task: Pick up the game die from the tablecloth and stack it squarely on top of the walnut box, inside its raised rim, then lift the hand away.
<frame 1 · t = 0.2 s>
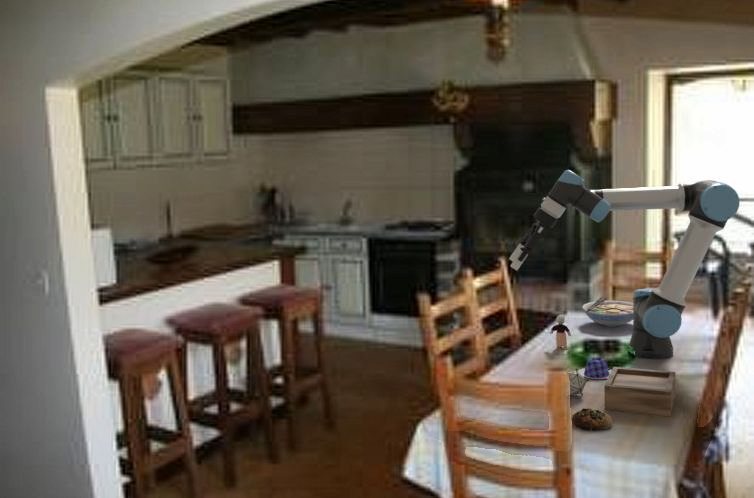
hand: (512, 264, 263), 36 cm above the table, tool tilted 35°, fingers open, 13 cm apart
ramen bowl: (611, 325, 313), on the table
grandmother figurine: (560, 348, 286), on the table
walnut box: (640, 401, 229), on the table
bread roll: (592, 425, 216), on the table
game die: (572, 396, 238), on the table
pudding: (596, 375, 256), on the table
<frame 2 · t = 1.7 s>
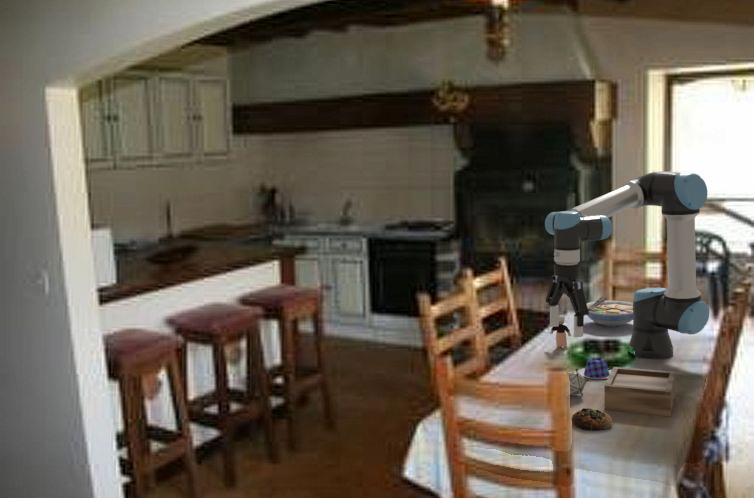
hand: (566, 331, 236), 20 cm above the table, tool pointing down, fingers open, 13 cm apart
nothing on the table moved.
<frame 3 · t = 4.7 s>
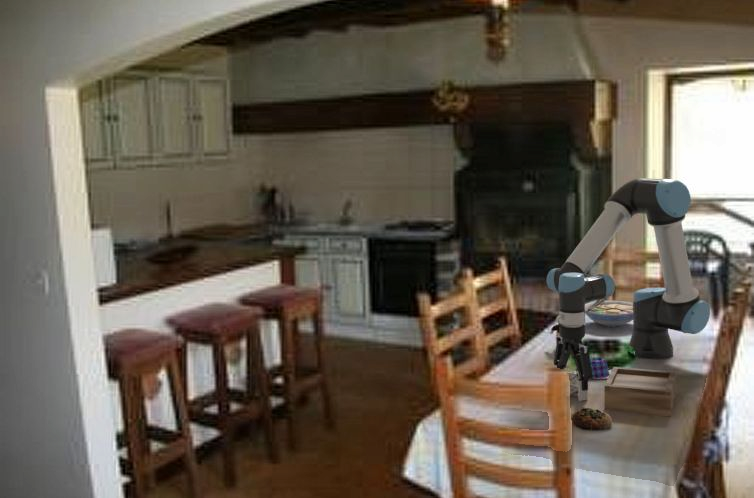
hand: (572, 394, 238), 0 cm above the table, tool pointing down, fingers closed on game die, 10 cm apart
game die: (572, 395, 238), on the table, touching gripper
everything else where it was.
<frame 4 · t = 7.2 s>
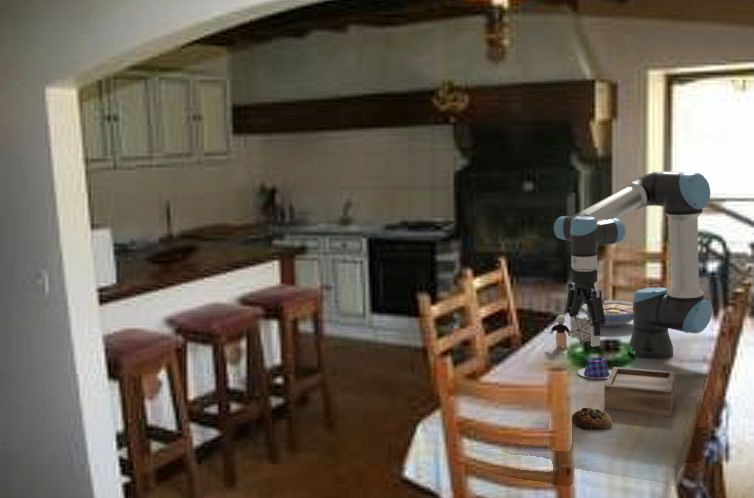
hand: (585, 341, 233), 17 cm above the table, tool pointing down, fingers closed on game die, 10 cm apart
game die: (585, 342, 233), point 17 cm above the table, touching gripper
everything else where it was.
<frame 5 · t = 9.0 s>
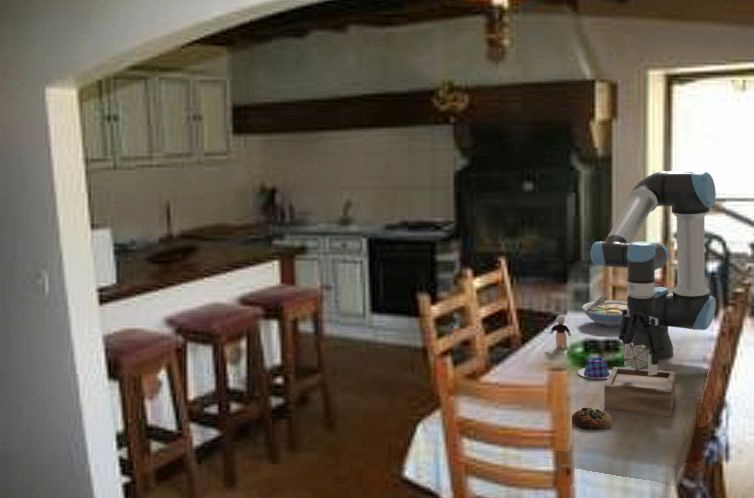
hand: (640, 369, 228), 10 cm above the table, tool pointing down, fingers closed on game die, 10 cm apart
game die: (640, 371, 228), point 10 cm above the table, touching gripper
everything else where it was.
when the fingers open (7 cm above the table, at t = 10.1 s): game die stays where it is, resting on walnut box.
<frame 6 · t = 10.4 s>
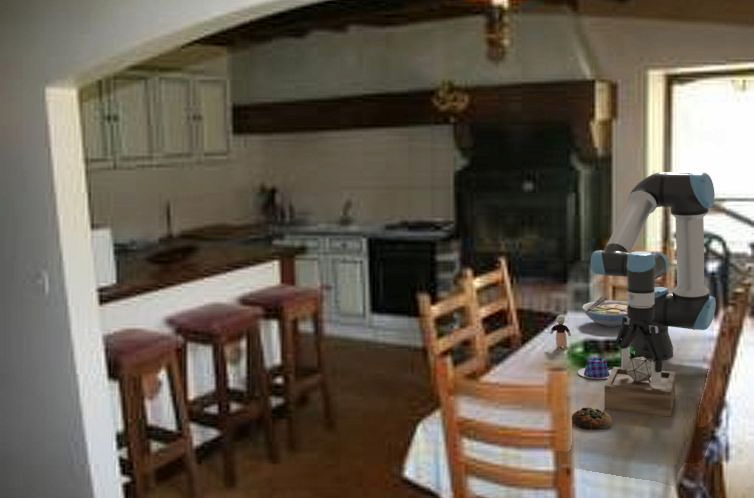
hand: (640, 375, 228), 8 cm above the table, tool pointing down, fingers open, 13 cm apart
game die: (640, 382, 229), point 6 cm above the table, touching walnut box
everything else where it was.
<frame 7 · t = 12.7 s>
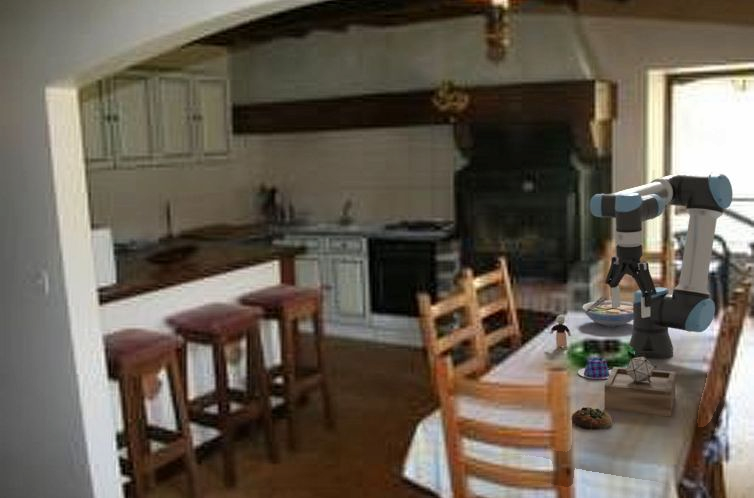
hand: (630, 312, 238), 24 cm above the table, tool pointing down, fingers open, 13 cm apart
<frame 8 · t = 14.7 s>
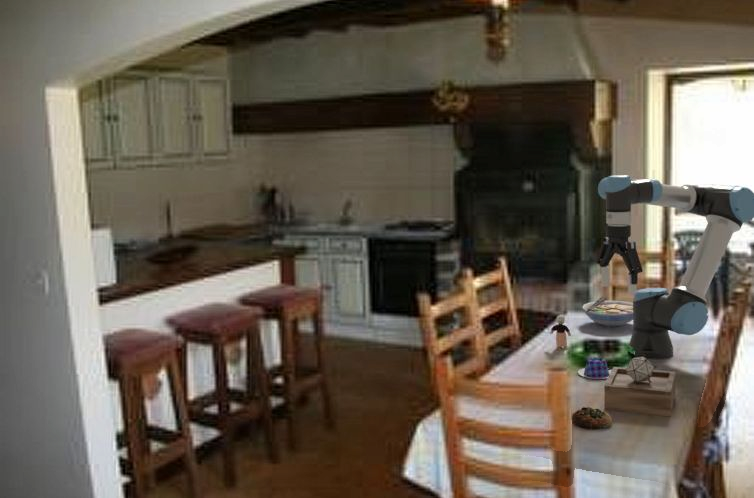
hand: (618, 290, 248), 29 cm above the table, tool pointing down, fingers open, 13 cm apart
at the end: game die inside the target area on the walnut box (0.3 cm from its centre), point 5.8 cm above the walnut box's base; game die tilted 0°; the gripper is holding nothing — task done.
